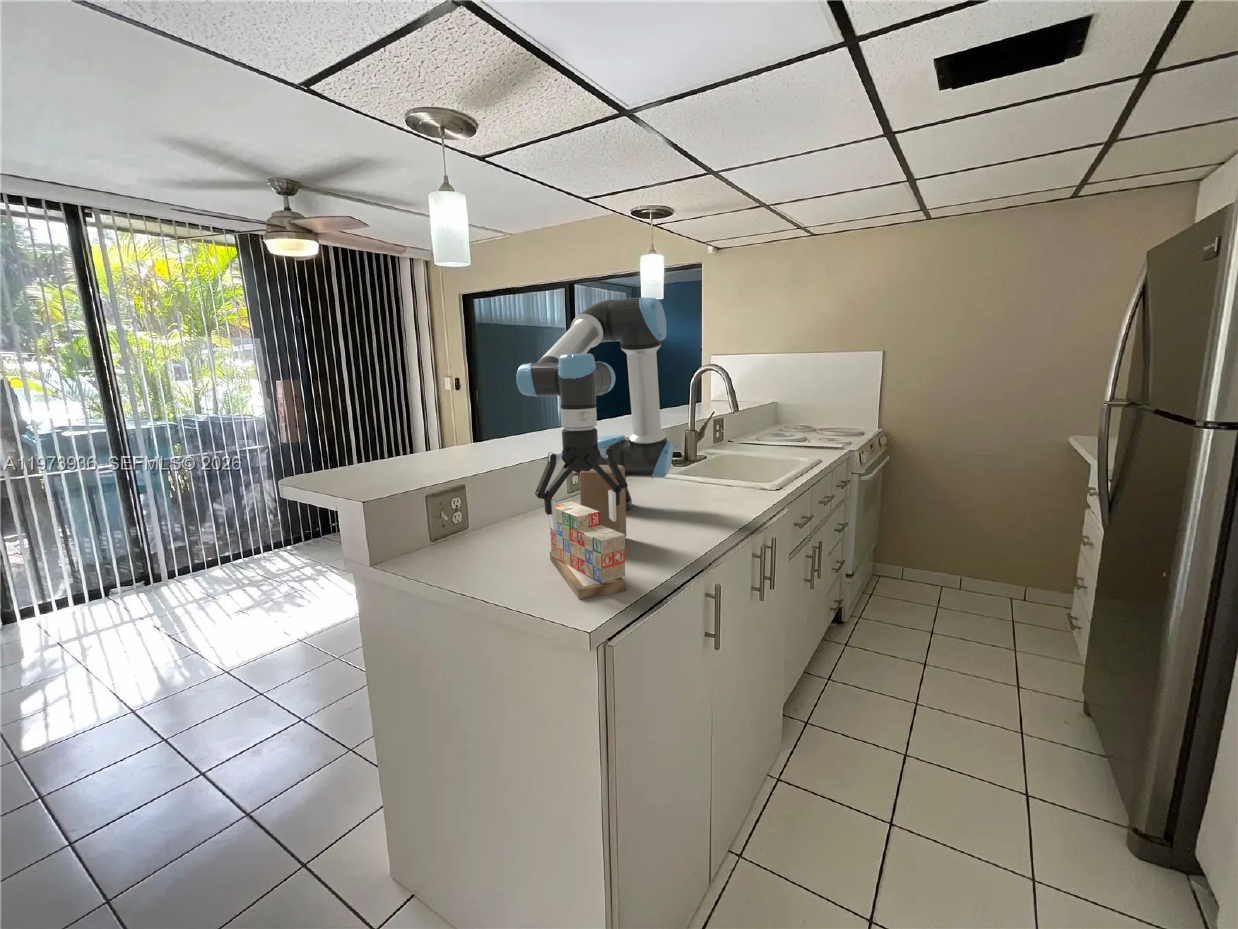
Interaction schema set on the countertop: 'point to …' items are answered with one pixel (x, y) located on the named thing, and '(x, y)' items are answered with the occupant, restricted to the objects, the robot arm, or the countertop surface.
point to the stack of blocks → (587, 543)
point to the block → (603, 497)
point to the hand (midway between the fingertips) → (583, 524)
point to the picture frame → (586, 581)
